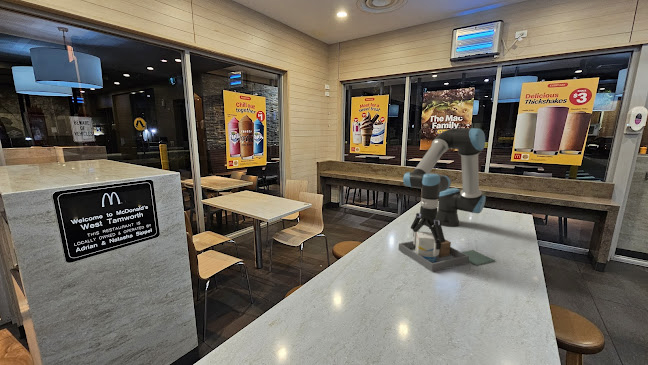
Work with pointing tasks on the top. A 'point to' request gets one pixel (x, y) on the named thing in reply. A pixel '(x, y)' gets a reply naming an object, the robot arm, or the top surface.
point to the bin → (459, 260)
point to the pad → (477, 258)
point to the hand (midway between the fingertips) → (425, 249)
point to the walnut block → (444, 249)
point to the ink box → (425, 245)
